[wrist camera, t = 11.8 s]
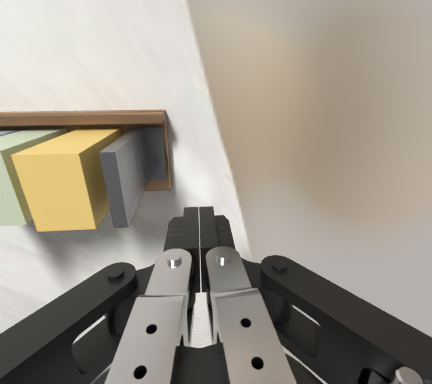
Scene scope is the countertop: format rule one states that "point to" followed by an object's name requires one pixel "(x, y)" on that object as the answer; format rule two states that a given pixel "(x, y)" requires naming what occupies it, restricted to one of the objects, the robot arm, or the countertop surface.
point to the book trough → (93, 126)
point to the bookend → (132, 170)
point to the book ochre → (66, 179)
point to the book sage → (8, 178)
